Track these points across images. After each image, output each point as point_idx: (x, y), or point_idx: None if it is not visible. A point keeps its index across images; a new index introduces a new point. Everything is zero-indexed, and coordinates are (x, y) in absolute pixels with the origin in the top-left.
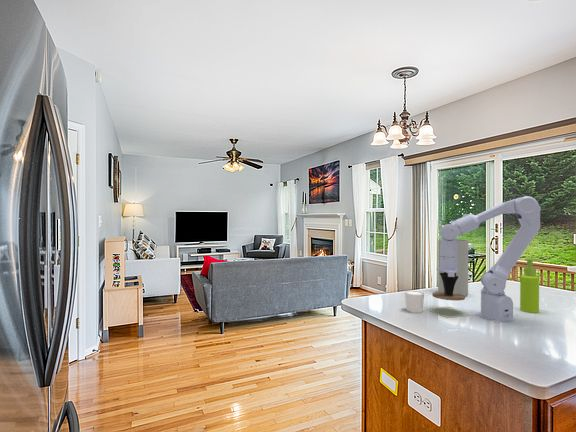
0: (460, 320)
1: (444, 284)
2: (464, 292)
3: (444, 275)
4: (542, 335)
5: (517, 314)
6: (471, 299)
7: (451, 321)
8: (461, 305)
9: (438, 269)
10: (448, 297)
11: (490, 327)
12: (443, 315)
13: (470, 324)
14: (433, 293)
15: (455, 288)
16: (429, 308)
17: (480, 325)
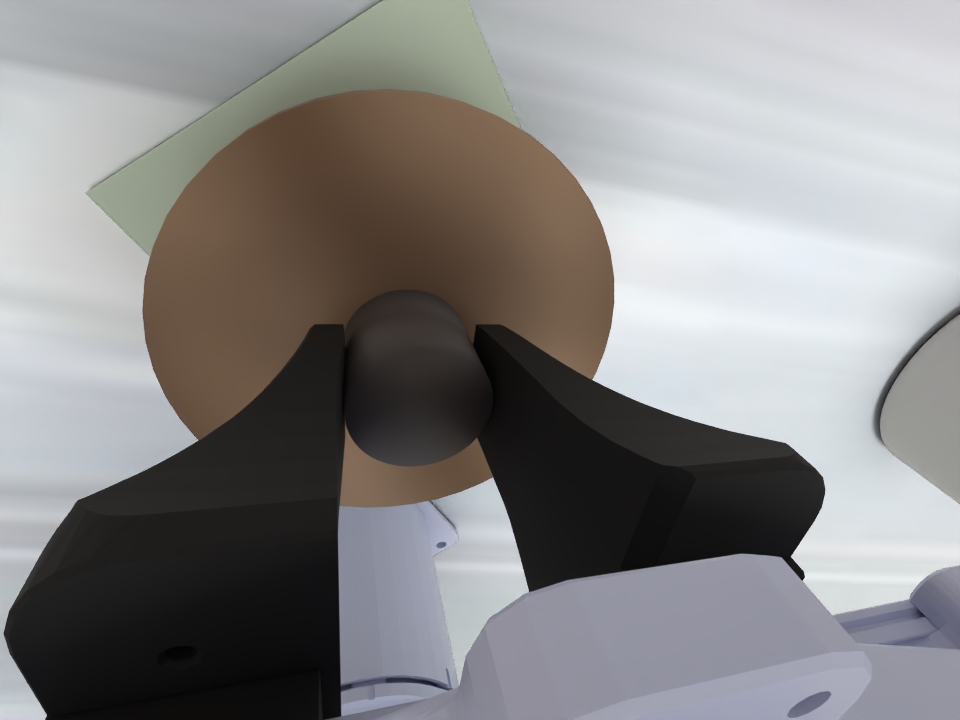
0: (121, 321)
1: (260, 399)
2: (902, 452)
3: (41, 652)
4: (32, 697)
5: (478, 622)
6: (807, 460)
7: (4, 224)
8: (661, 389)
9: (484, 683)
10: (223, 328)
11: (21, 505)
12: (184, 172)
13: (10, 385)
14: (477, 126)
15: (954, 420)
16: (480, 55)
17: (36, 451)
